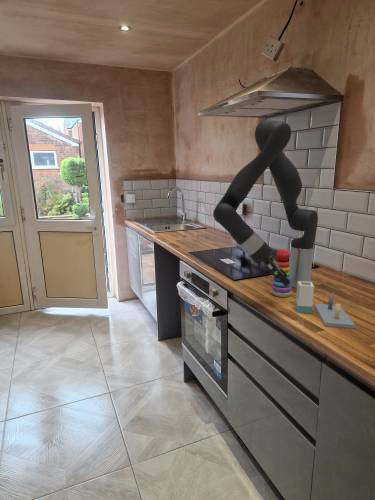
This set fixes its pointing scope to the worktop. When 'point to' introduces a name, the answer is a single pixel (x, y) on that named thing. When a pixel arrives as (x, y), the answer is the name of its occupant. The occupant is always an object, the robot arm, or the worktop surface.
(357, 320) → the worktop surface
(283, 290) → the stacking toy
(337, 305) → the pin board
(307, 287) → the sleeve
